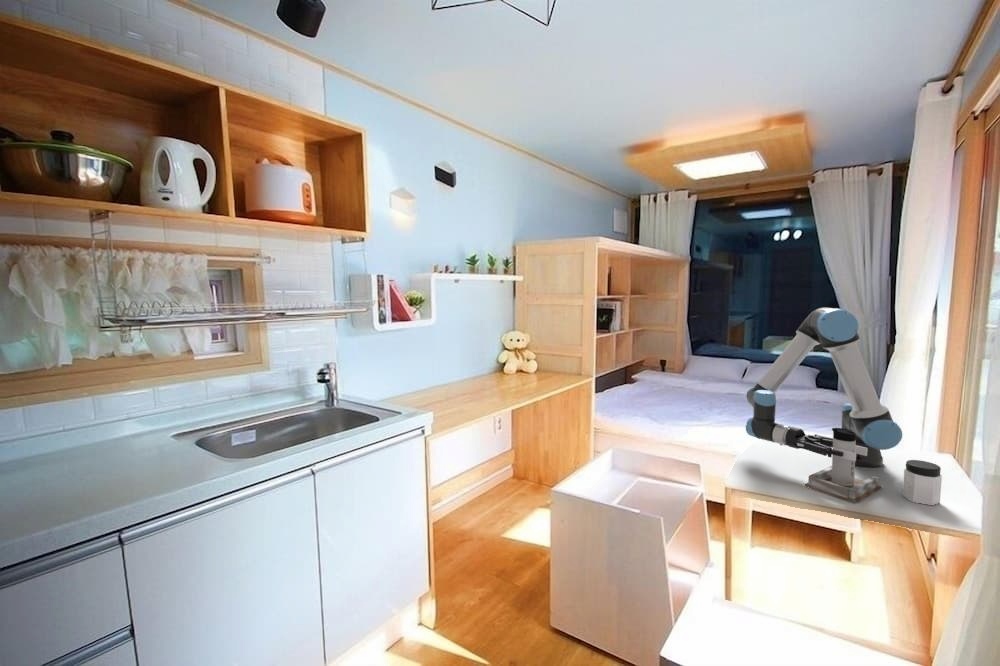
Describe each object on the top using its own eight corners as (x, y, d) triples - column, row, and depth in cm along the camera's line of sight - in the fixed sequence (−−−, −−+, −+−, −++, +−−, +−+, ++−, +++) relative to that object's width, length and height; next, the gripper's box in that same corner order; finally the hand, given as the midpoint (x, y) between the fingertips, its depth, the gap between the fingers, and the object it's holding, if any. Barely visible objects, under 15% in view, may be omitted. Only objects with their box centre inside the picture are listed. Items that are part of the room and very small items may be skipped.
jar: (896, 493, 151) (898, 458, 150) (923, 494, 150) (925, 459, 149) (917, 505, 142) (920, 469, 141) (946, 506, 141) (949, 470, 140)
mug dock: (832, 474, 167) (832, 463, 167) (881, 488, 154) (882, 477, 154) (804, 486, 157) (805, 475, 157) (855, 503, 144) (855, 491, 144)
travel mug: (828, 480, 160) (829, 425, 158) (850, 482, 157) (852, 427, 155) (833, 487, 154) (835, 431, 152) (856, 490, 152) (859, 432, 150)
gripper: (803, 440, 176) (874, 458, 156) (774, 451, 165) (846, 472, 146) (803, 422, 175) (875, 438, 155) (774, 431, 165) (847, 449, 145)
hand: (861, 454), depth 151 cm, fingers open, 8 cm apart
